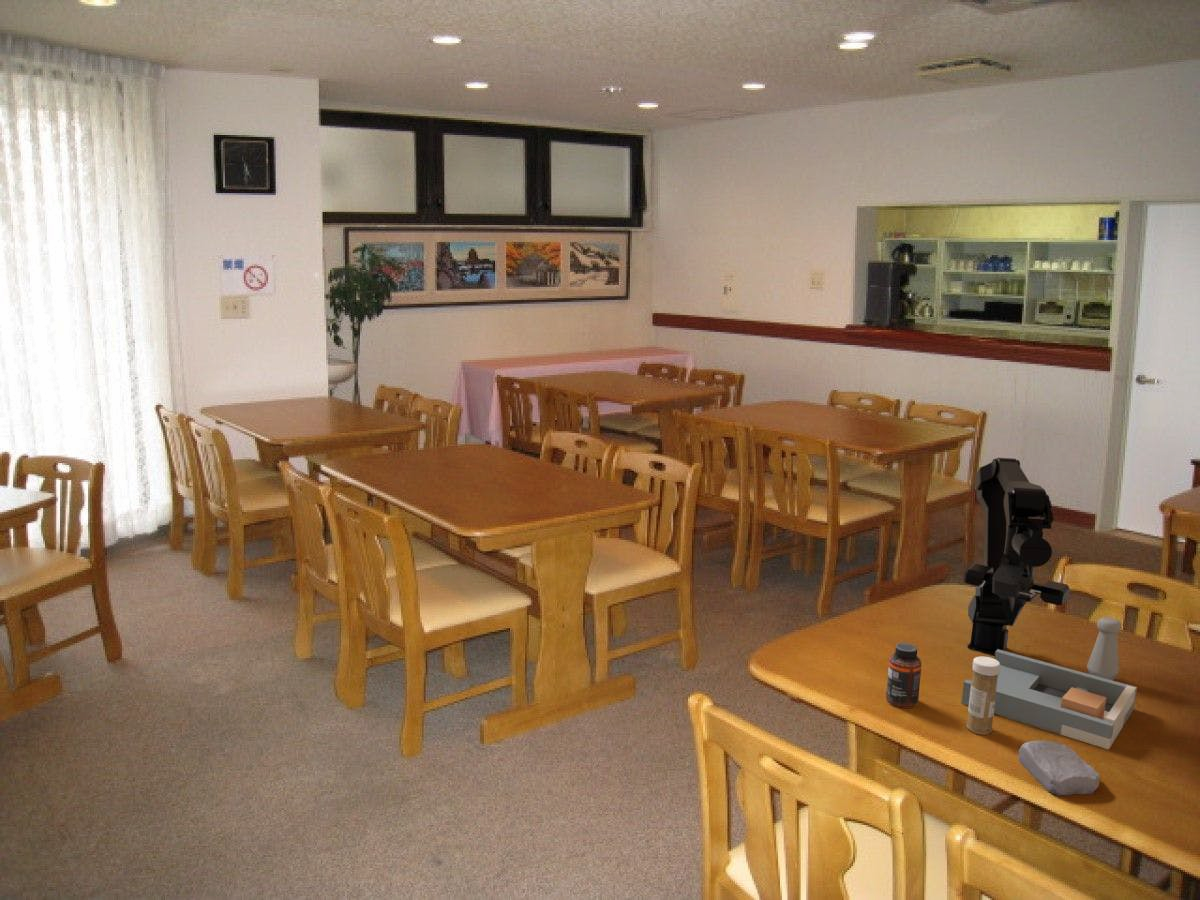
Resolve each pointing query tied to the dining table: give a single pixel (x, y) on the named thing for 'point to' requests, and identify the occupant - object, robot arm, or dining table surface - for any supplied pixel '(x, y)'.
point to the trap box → (1057, 699)
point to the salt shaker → (1105, 650)
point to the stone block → (1058, 768)
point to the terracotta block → (1084, 702)
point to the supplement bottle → (904, 676)
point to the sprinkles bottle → (982, 695)
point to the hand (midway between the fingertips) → (1010, 624)
